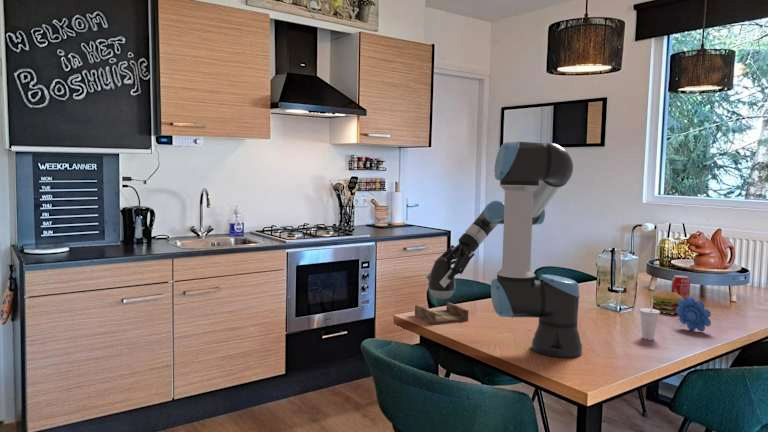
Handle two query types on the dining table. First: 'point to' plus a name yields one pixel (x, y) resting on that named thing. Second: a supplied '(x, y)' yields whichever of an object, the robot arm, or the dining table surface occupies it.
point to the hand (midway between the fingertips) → (434, 282)
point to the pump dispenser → (437, 275)
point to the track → (442, 314)
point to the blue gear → (693, 314)
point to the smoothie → (649, 321)
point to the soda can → (681, 286)
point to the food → (666, 301)
